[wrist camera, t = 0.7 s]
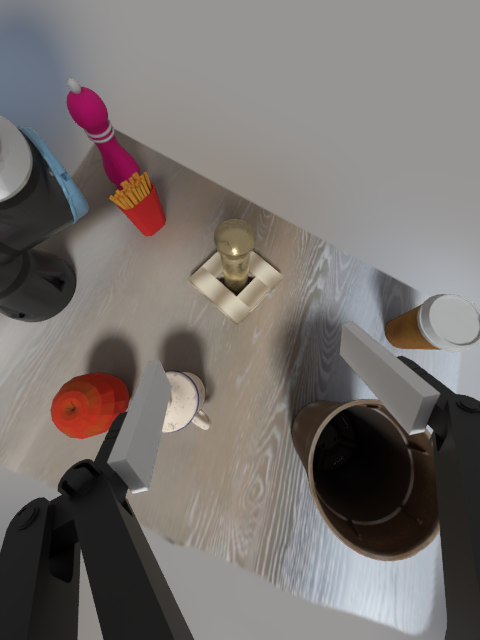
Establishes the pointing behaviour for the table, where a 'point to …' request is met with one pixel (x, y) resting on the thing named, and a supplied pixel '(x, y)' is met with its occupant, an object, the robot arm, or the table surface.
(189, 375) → the teacup with lid
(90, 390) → the apple
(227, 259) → the gold stepped cylinder
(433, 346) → the disposable coffee cup
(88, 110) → the pepper mill
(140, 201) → the french fries
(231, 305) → the socket block
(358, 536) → the plant pot
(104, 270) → the table surface
